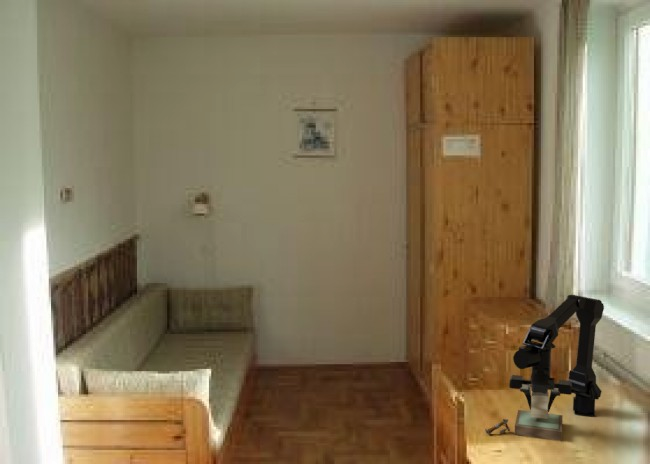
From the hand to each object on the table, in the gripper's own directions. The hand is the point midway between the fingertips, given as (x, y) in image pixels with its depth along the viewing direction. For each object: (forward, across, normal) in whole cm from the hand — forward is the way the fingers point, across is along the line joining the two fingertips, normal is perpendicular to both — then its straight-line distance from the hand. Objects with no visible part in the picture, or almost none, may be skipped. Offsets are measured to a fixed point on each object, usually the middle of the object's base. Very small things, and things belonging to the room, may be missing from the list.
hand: (539, 410), depth 219 cm
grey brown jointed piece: (+7, -12, -7) cm, 16 cm away
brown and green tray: (+6, 0, 0) cm, 6 cm away
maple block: (+2, 0, 0) cm, 2 cm away
